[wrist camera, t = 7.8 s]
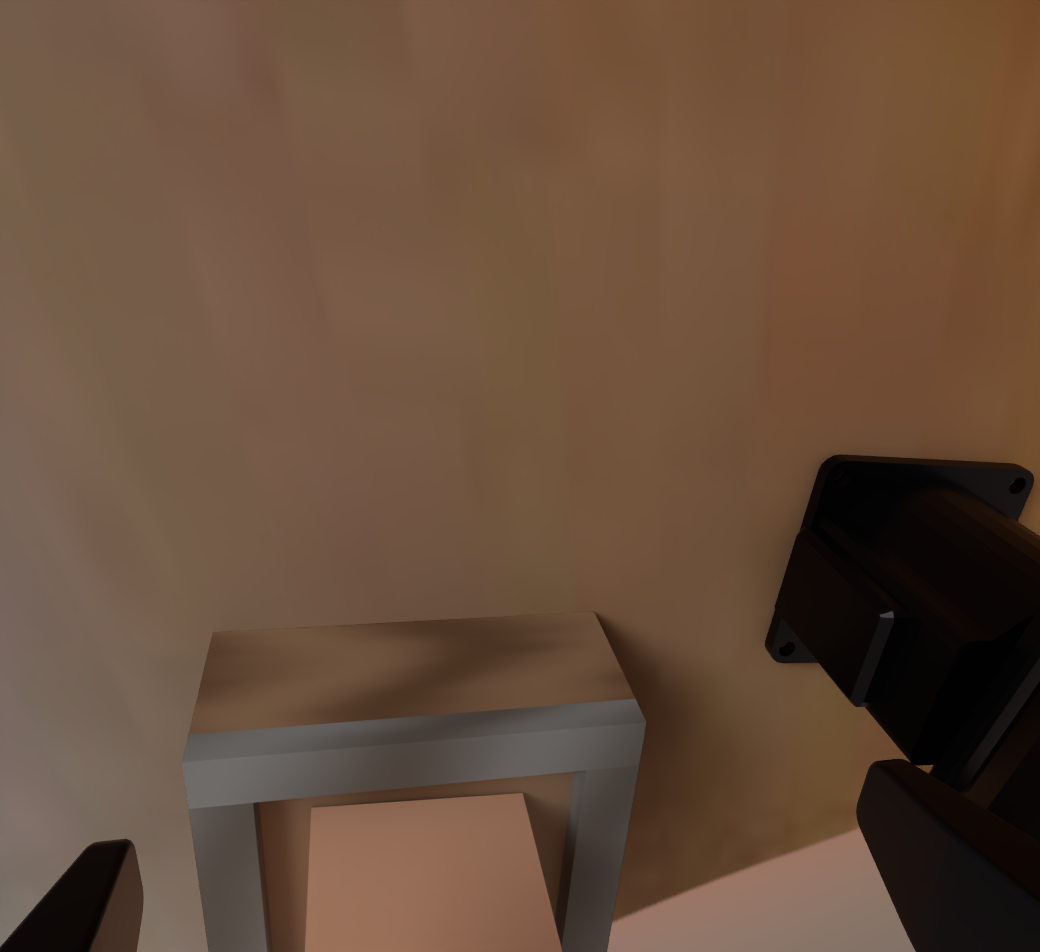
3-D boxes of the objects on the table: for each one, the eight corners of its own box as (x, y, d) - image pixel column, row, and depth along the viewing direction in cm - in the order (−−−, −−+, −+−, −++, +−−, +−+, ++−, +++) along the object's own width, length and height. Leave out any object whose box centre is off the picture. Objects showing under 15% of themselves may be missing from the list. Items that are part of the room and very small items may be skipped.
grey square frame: (590, 603, 23) (646, 722, 19) (558, 855, 27) (598, 998, 23) (214, 624, 21) (181, 762, 17) (244, 892, 25) (223, 1057, 21)
